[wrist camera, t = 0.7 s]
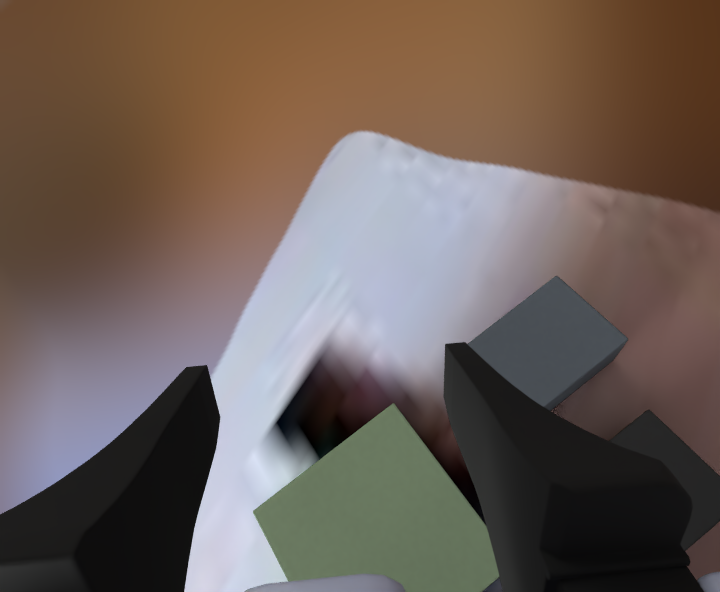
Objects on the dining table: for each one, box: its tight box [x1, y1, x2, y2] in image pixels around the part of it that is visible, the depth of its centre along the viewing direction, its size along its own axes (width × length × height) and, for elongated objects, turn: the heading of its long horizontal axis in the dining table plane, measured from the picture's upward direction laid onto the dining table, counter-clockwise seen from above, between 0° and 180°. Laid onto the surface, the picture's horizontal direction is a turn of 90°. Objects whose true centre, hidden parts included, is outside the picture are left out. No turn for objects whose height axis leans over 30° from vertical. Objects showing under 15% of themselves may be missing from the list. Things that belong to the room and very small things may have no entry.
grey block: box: [468, 276, 628, 411], centre depth 28 cm, size 5×7×3 cm
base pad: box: [253, 403, 500, 592], centre depth 27 cm, size 10×10×1 cm
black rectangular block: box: [609, 410, 720, 551], centre depth 24 cm, size 5×7×3 cm
